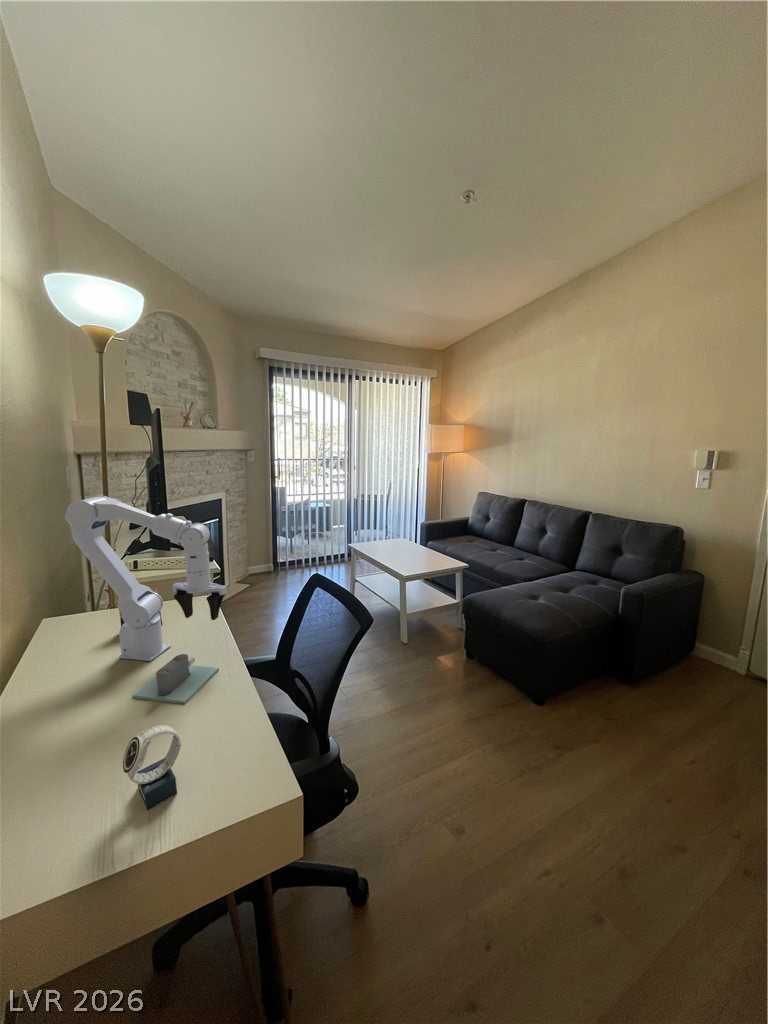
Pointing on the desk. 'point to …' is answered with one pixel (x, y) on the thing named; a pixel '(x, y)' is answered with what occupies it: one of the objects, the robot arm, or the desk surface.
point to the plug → (173, 674)
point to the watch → (152, 766)
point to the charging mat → (184, 690)
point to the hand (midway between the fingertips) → (201, 617)
